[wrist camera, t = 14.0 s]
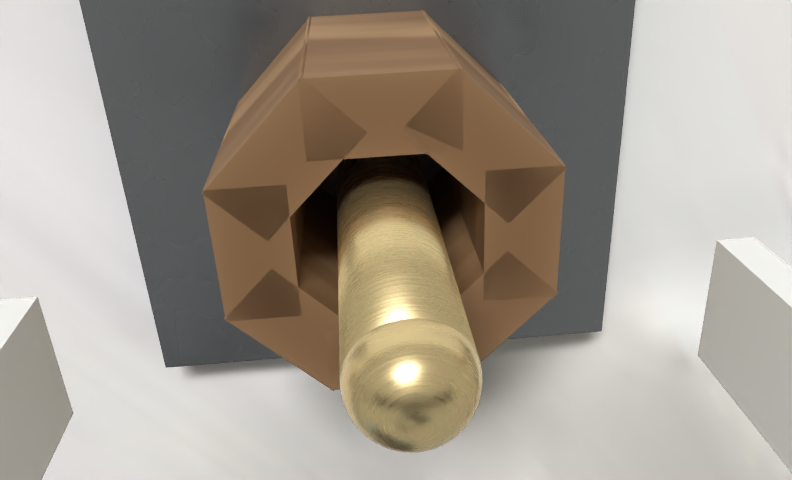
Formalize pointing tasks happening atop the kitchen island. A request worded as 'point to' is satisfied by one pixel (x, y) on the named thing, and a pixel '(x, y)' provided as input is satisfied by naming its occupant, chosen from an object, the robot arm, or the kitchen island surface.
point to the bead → (376, 137)
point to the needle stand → (360, 187)
